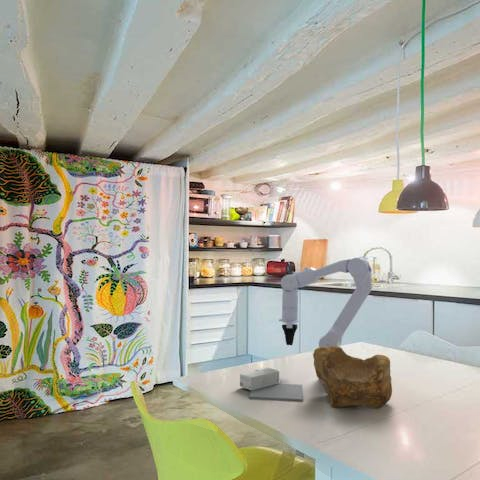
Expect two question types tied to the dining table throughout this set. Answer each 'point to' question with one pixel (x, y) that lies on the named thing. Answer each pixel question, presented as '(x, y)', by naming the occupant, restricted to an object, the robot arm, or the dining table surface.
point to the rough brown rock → (353, 378)
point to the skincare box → (259, 378)
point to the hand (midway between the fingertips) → (289, 344)
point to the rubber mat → (279, 392)
